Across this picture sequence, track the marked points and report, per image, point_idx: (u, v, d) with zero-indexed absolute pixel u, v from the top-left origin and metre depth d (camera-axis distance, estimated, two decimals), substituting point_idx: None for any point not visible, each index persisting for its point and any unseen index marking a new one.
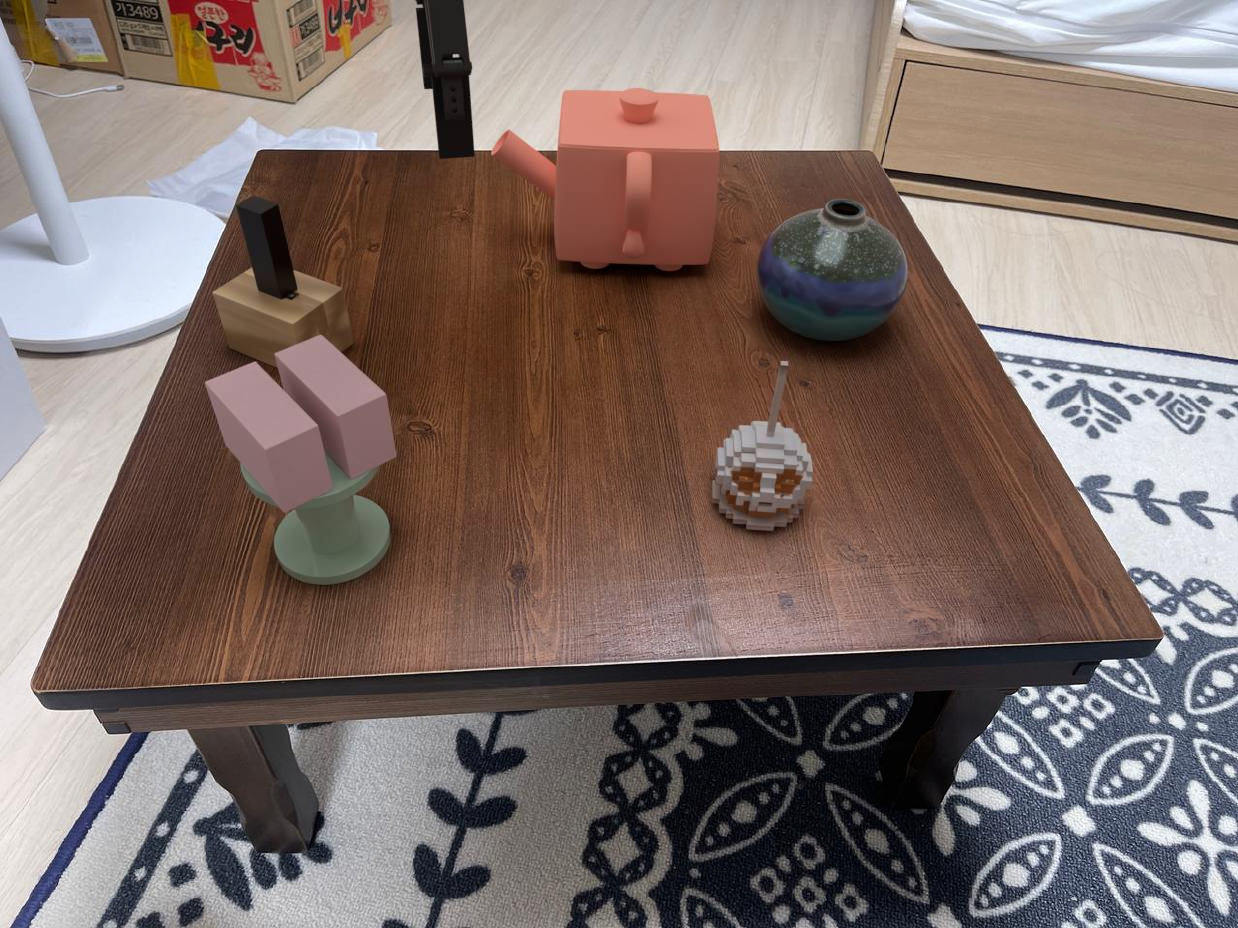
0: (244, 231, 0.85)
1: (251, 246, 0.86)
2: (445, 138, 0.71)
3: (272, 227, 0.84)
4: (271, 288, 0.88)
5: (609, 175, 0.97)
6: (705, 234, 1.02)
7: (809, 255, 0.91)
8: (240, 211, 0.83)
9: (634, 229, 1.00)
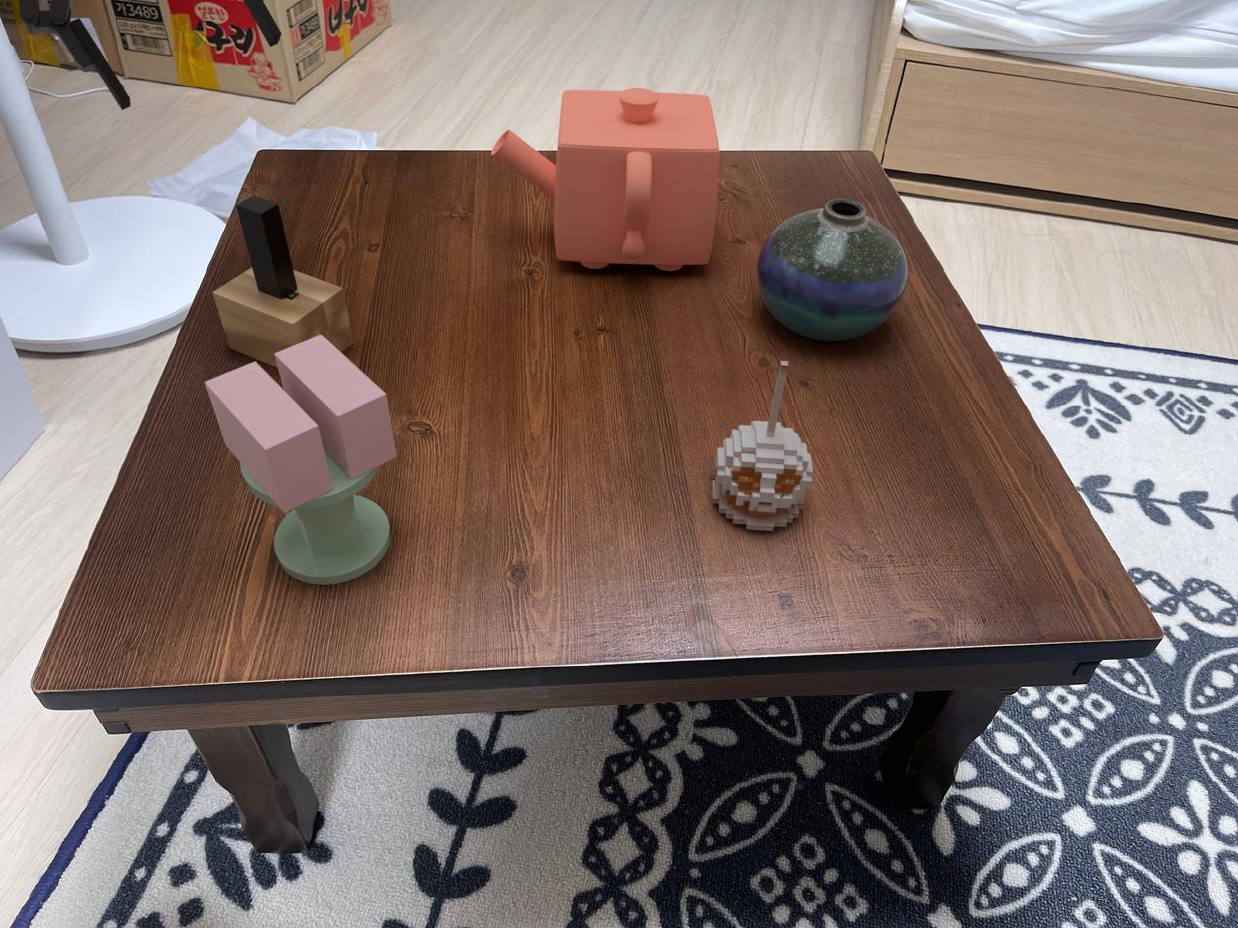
0: (244, 231, 0.85)
1: (251, 246, 0.86)
2: None
3: (272, 227, 0.84)
4: (271, 288, 0.88)
5: (609, 175, 0.97)
6: (705, 234, 1.02)
7: (809, 255, 0.91)
8: (240, 211, 0.83)
9: (634, 229, 1.00)
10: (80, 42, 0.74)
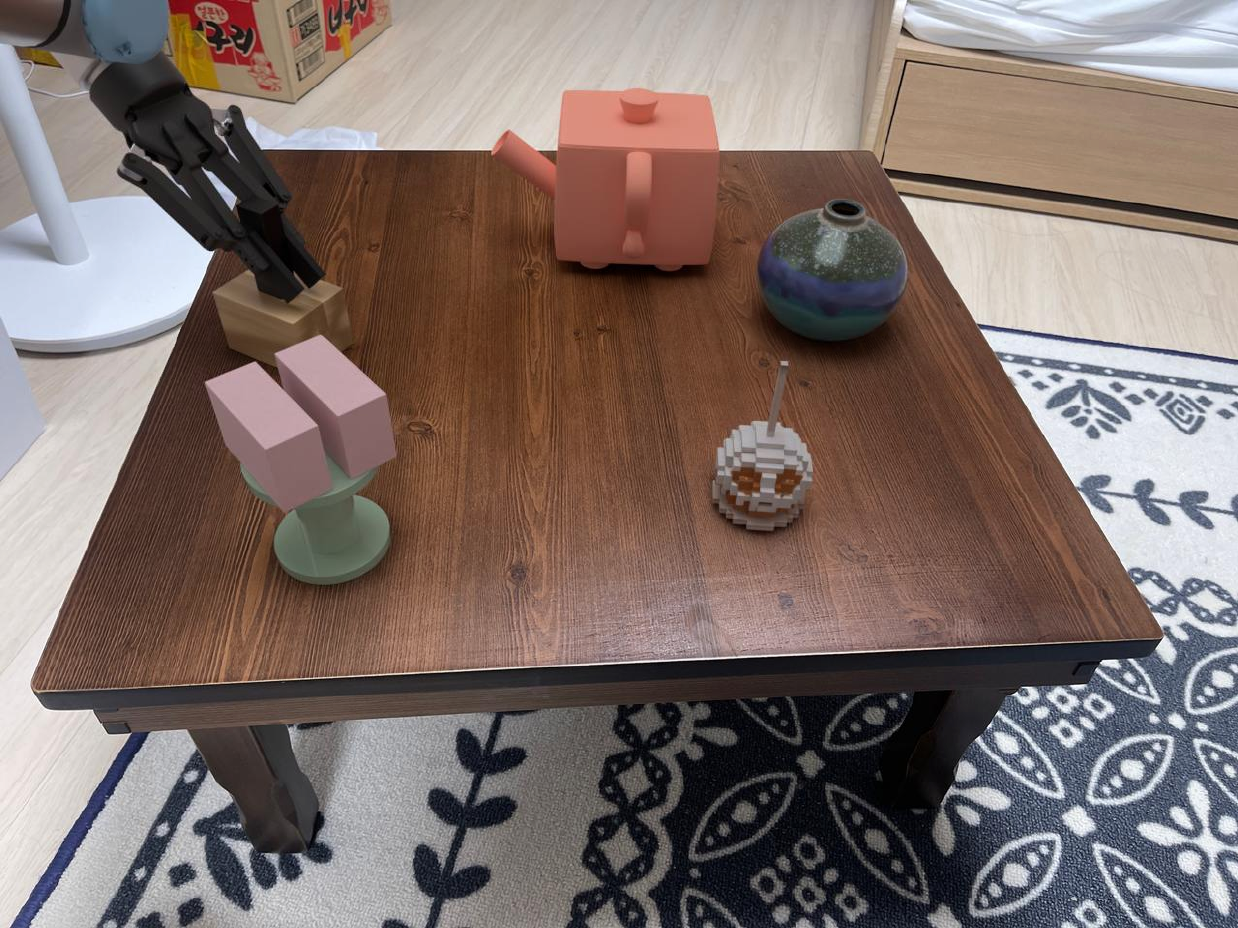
0: None
1: None
2: None
3: (272, 227, 0.84)
4: (271, 288, 0.88)
5: (609, 175, 0.97)
6: (705, 234, 1.02)
7: (809, 255, 0.91)
8: (240, 211, 0.83)
9: (634, 229, 1.00)
10: (256, 250, 0.84)
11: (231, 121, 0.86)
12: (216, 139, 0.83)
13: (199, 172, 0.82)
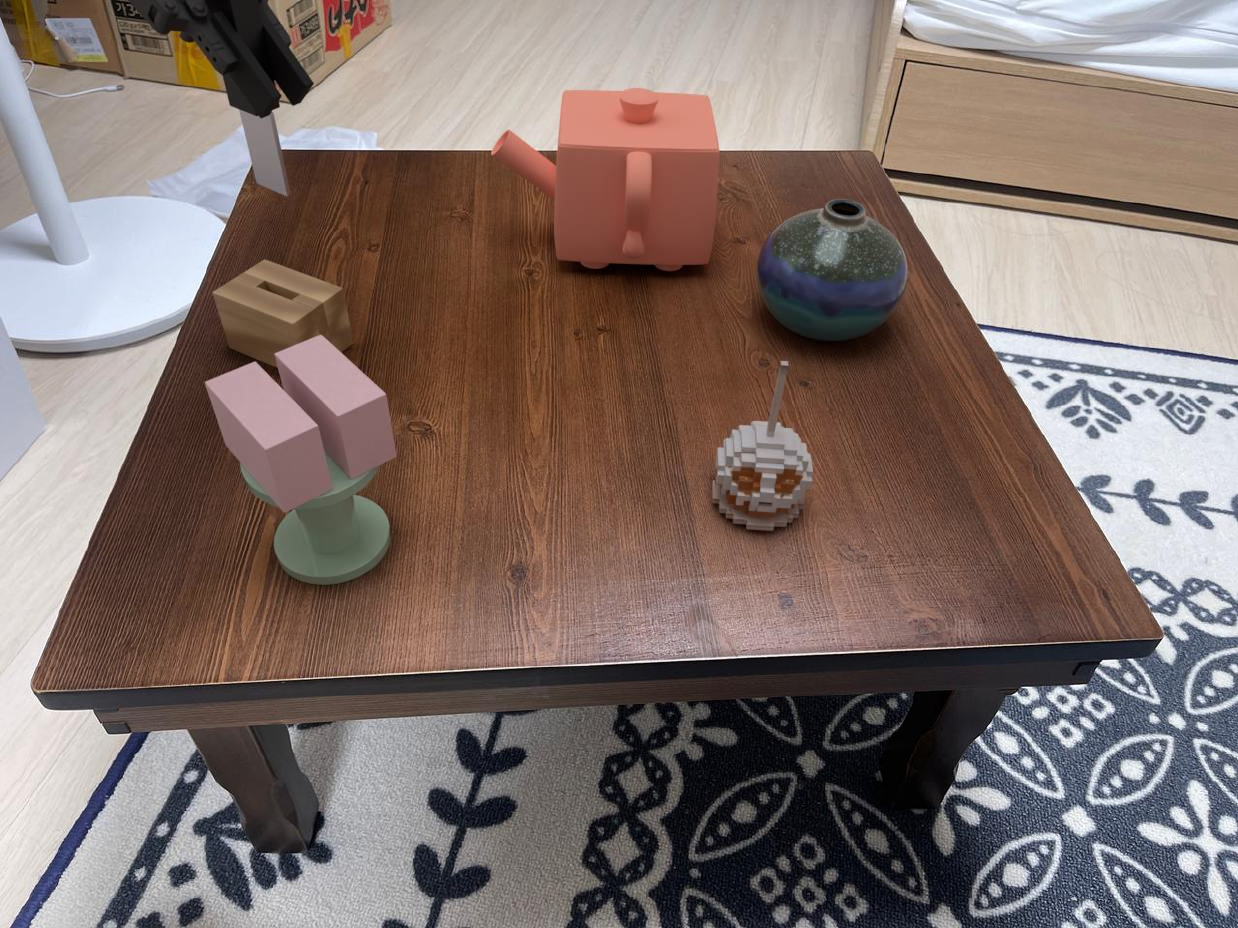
0: (209, 15, 0.65)
1: None
2: None
3: (243, 8, 0.64)
4: (244, 100, 0.68)
5: (609, 174, 0.97)
6: (705, 234, 1.02)
7: (809, 255, 0.91)
8: None
9: (634, 229, 1.00)
10: (222, 38, 0.64)
11: None
12: None
13: None
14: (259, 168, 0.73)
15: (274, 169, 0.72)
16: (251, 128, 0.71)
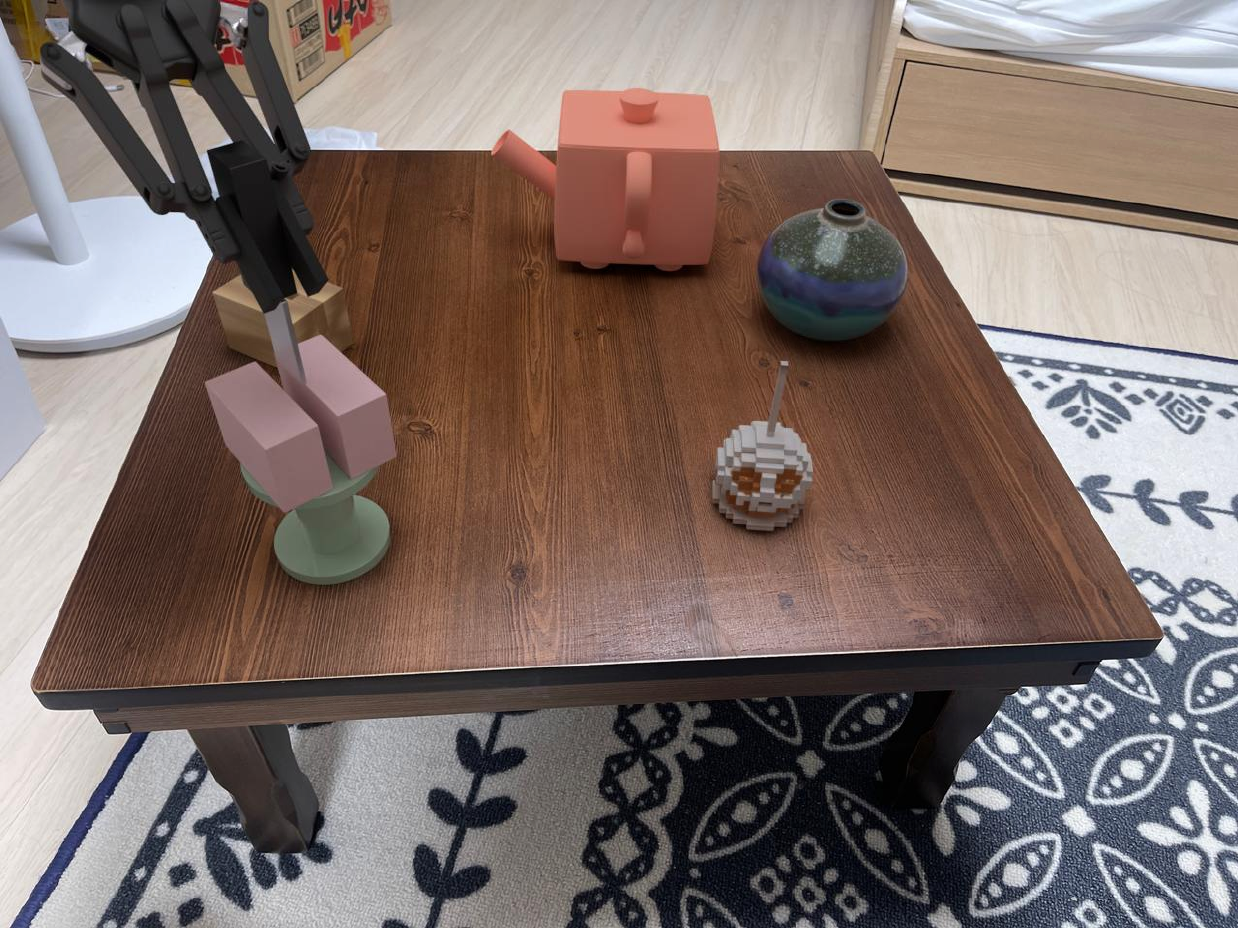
0: (219, 193, 0.55)
1: None
2: None
3: (252, 193, 0.53)
4: None
5: (609, 175, 0.97)
6: (705, 234, 1.02)
7: (809, 255, 0.91)
8: (211, 161, 0.53)
9: (634, 229, 1.00)
10: (225, 224, 0.54)
11: (247, 25, 0.56)
12: (206, 46, 0.54)
13: (163, 91, 0.53)
14: (277, 347, 0.63)
15: (289, 354, 0.62)
16: None
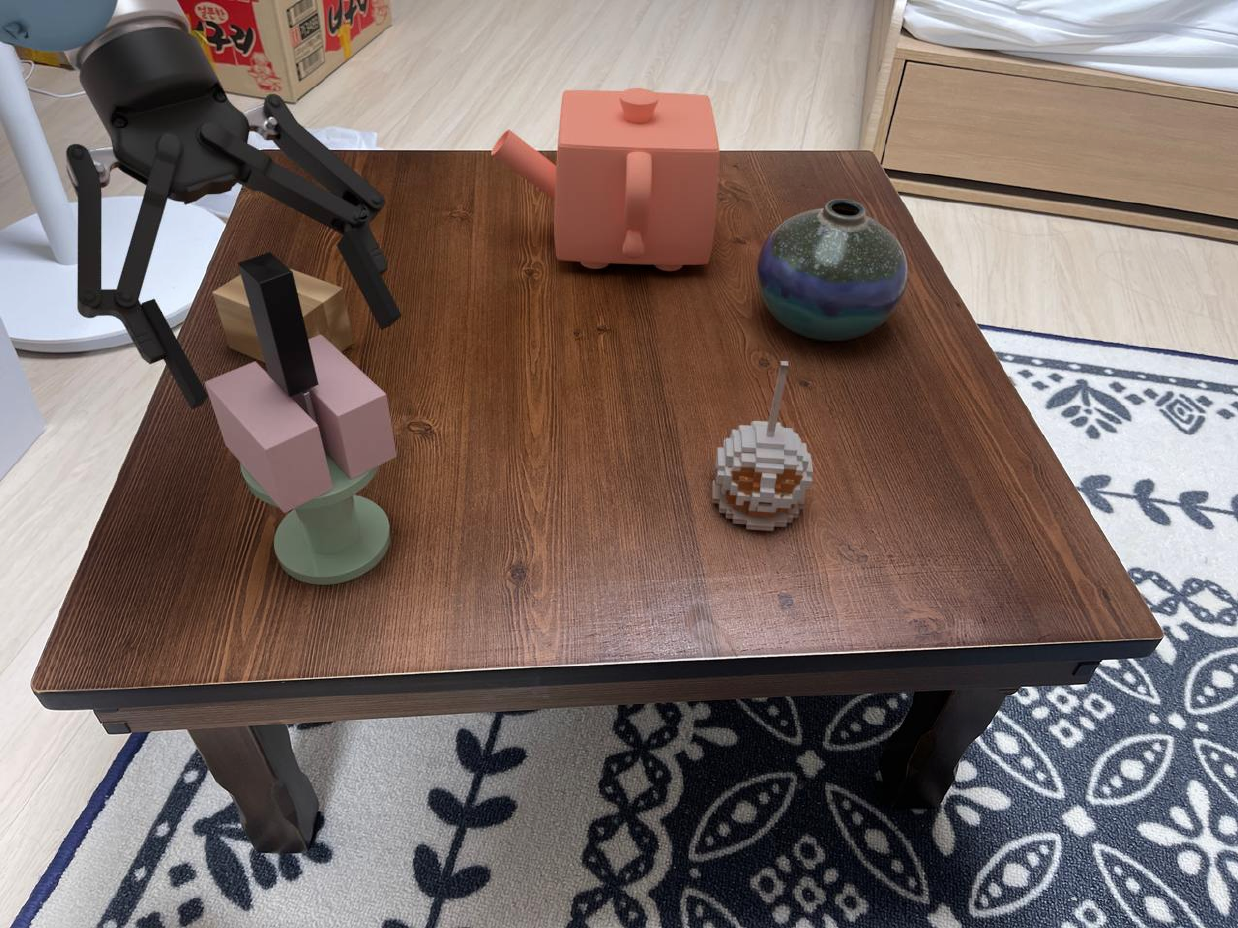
0: (248, 299, 0.60)
1: (256, 320, 0.61)
2: None
3: (279, 302, 0.58)
4: (279, 379, 0.63)
5: (609, 175, 0.97)
6: (705, 234, 1.02)
7: (809, 255, 0.91)
8: (242, 272, 0.58)
9: (634, 229, 1.00)
10: (151, 327, 0.56)
11: (275, 120, 0.61)
12: (251, 151, 0.59)
13: (155, 208, 0.56)
14: None
15: None
16: None
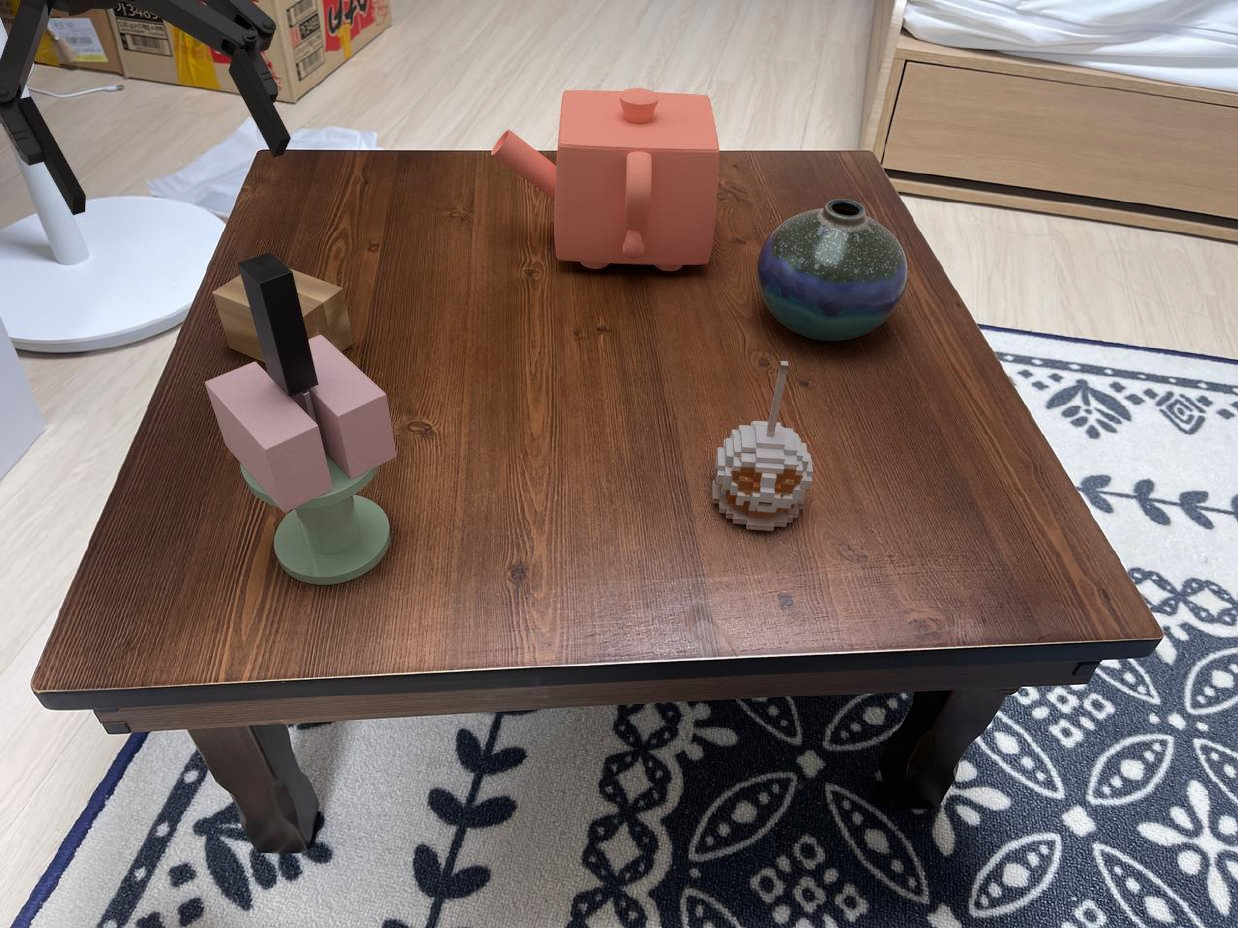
0: (248, 299, 0.60)
1: (256, 320, 0.61)
2: None
3: (279, 302, 0.58)
4: (279, 379, 0.63)
5: (609, 174, 0.97)
6: (705, 234, 1.02)
7: (809, 255, 0.91)
8: (242, 272, 0.58)
9: (634, 229, 1.00)
10: (28, 126, 0.56)
11: None
12: None
13: (33, 10, 0.57)
14: None
15: None
16: None
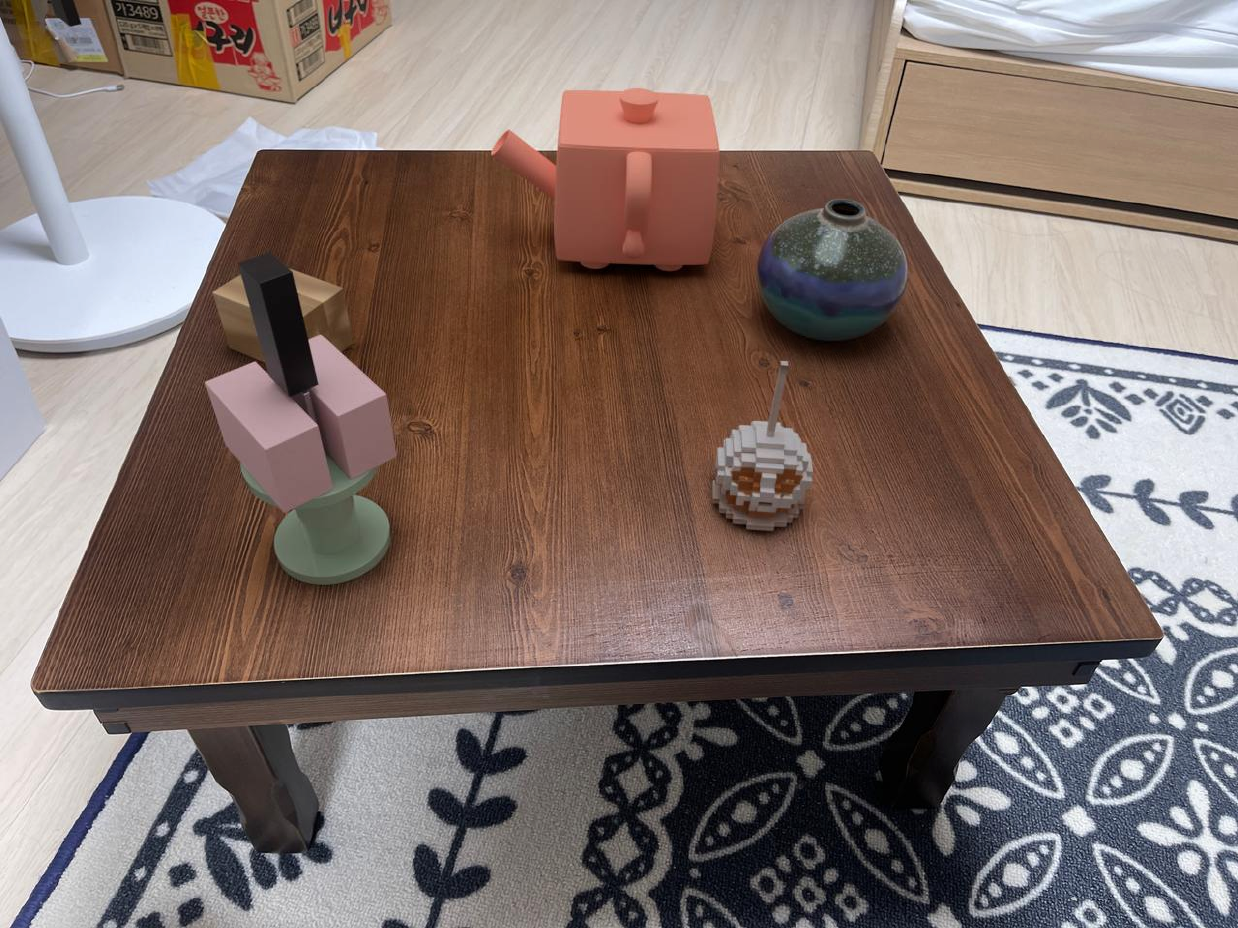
0: (248, 299, 0.60)
1: (256, 320, 0.61)
2: None
3: (279, 302, 0.58)
4: (279, 379, 0.63)
5: (609, 175, 0.97)
6: (705, 234, 1.02)
7: (809, 255, 0.91)
8: (242, 272, 0.58)
9: (634, 229, 1.00)
10: None
11: None
12: None
13: None
14: None
15: None
16: None
